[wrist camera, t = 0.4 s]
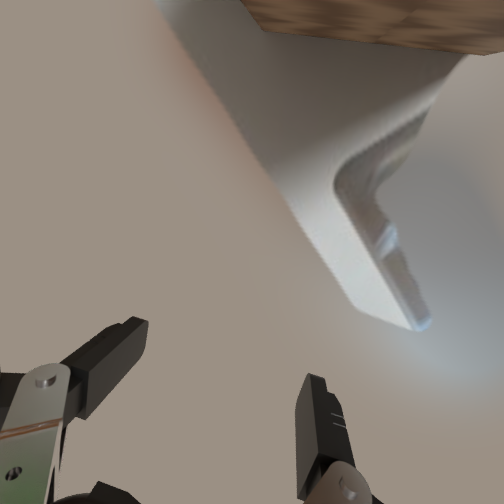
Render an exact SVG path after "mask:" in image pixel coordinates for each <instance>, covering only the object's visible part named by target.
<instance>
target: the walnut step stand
mask: <svg viewBox="0 0 504 504" xmlns="http://www.w3.org/2000/svg"><path fill="white" fill-rule="evenodd" d="M241 2H242V3H243V4H244V6H245V7H246V8H247V10H248V11H249V13H250V14H251V15H252V17H253V18H254V19H255V21H256V22H257V23H258V25H259V26H260V28H261V29H262V30H263V31H271V32H280V33H289V34H298V35H306V36H315V37H324V38H333V39H342V40H351V41H359V42H368V43H377V44H386V45H395V46H404V47H412V48H421V49H430V50H439V51H448V52H457V53H465V54H474V55H483V56H485V55H489V54H494V53H499V52H503V51H504V0H241Z"/></svg>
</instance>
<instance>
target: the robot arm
mask: <svg viewBox="0 0 504 504" xmlns="http://www.w3.org/2000/svg"><path fill="white" fill-rule="evenodd" d="M147 331H148V321H146V320H144V319H140V318H137V317H134V316H132V317H131V318H129V319H128V320H127V321H126V322H124V323H123V324H120V323H117V324H114V325H112V326H109V327H107V328H105V329H104V330H103V331H101V332H100V333H98V334H97V336H94V337H93V338H92V339H91V340H90V341H89V342H87V343H85V344H84V345H83V346H81V347H80V348H79V349H77V350H76V351H75V352H73V353H72V354H71V355H69V356H68V357H67V358H65V359H64V360H63V361H61V362H60V363H52V364H46V365H42V366H39V367H37V368H34V369H33V370H31V371H29V372H28V373H26V374H24V373H22V374H21V373H1V372H0V504H141V503H139V502H138V501H137V500H136V499H135V498H134V497H133V496H132V495H130V494H129V493H128V492H126V491H123V490H121V489H118V488H116V487H113V486H110V485H108V484H105V483H102V482H100V481H98V482H97V484H96V485H95V486H94V488H93V489H92V492H91V493H83V494H76V495H72V496H68V497H65V498H63V499H60V500H57V498H58V488H59V480H60V473H61V467H62V461H63V454H64V448H65V442H66V435H67V429H68V424H69V423H70V422H71V421H72V420H73V419H74V418H75V417H78V418H81V419H83V420H86V419H87V418H88V417H89V416H90V414H91V413H92V412H93V411H94V410H95V409H96V408H97V406H98V405H99V404H100V403H101V402H102V401H103V400H104V399H105V397H106V396H107V395H108V394H109V393H110V392H111V391H112V390H113V388H114V387H115V386H116V385H117V384H118V383H119V382H120V381H121V379H122V378H123V377H124V376H125V375H126V374H127V372H129V370H130V369H131V368H132V367H133V366H134V365H135V364H136V362H137V361H138V360H139V359H140V357H141V356H142V354H143V352H144V349H145V344H146V338H147ZM343 418H344V416H343V412H342V408H341V405H340V403H339V401H338V400H337V398H336V396H335V395H334V394H332V393H329V392H327V387H326V382H325V379H324V378H322V377H319V376H316V375H313V374H310V373H308V374H307V376H306V378H305V380H304V383H303V386H302V388H301V391H300V394H299V396H298V399H297V403H296V409H295V427H296V468H297V498H298V499H300V500H303V501H305V502H304V503H303V504H384V503H382V502H381V501H379V500H378V499H377V498H376V497H375V496H373V495H372V494H371V491H370V488H369V486H368V484H367V482H366V480H365V479H364V477H363V476H362V475H361V473H360V472H359V471H358V470H357V469H356V467H355V463H354V458H353V454H352V450H351V446H350V442H349V437H348V433H347V429H346V424H345V420H344V419H343Z"/></svg>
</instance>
